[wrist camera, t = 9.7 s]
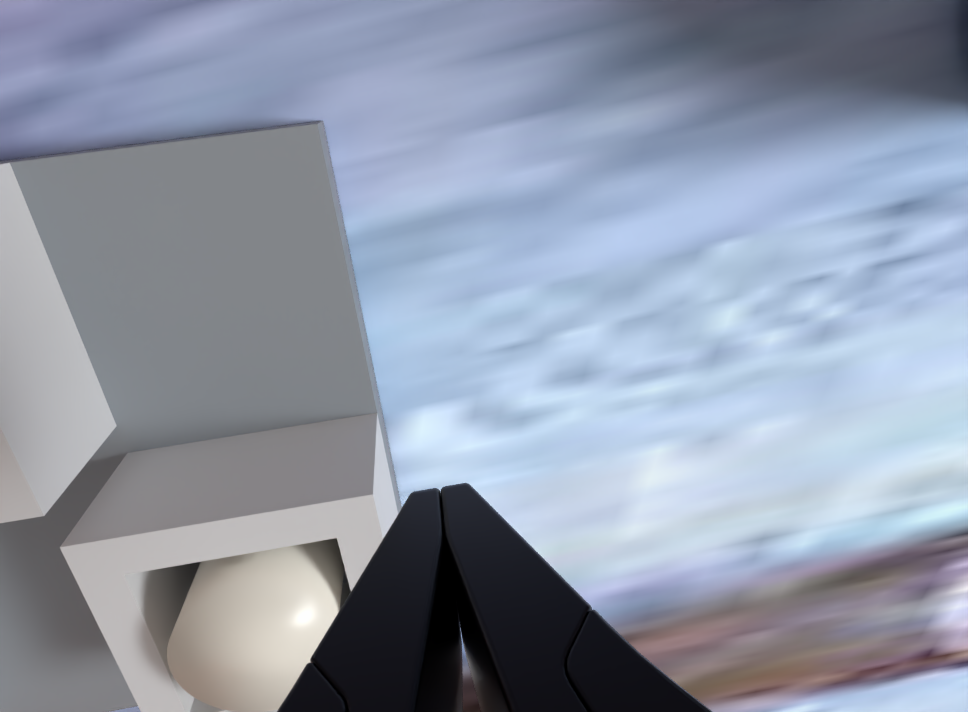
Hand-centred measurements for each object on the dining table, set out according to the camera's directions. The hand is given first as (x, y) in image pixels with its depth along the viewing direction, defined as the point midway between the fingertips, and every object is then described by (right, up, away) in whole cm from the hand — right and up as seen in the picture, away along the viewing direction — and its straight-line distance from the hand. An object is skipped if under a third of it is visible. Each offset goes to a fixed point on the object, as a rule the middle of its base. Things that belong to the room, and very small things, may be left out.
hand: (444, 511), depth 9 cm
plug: (-6, -4, +13) cm, 15 cm away
